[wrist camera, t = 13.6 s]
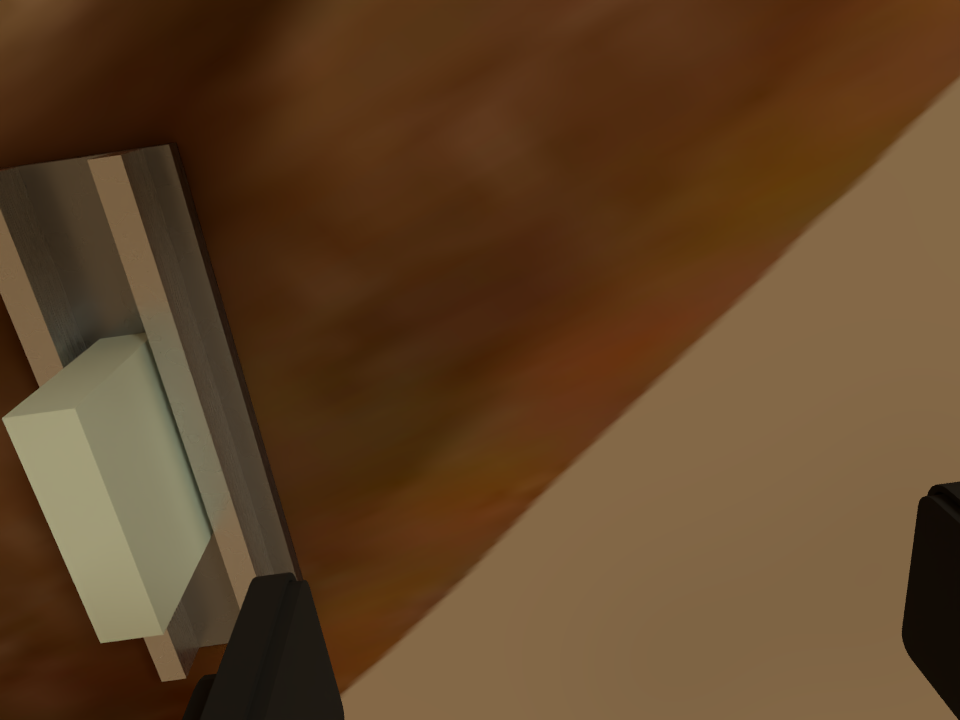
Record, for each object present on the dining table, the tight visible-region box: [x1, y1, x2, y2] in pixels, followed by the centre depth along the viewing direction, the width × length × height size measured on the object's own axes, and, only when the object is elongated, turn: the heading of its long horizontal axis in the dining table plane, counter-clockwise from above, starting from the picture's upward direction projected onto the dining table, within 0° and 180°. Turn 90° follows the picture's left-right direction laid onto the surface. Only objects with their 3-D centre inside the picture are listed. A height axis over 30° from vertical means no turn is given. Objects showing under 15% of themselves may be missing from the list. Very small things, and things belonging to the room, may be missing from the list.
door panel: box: [2, 333, 214, 643], centre depth 36 cm, size 12×3×9 cm, turn 7°
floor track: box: [0, 142, 303, 682], centre depth 39 cm, size 30×10×4 cm, turn 8°
